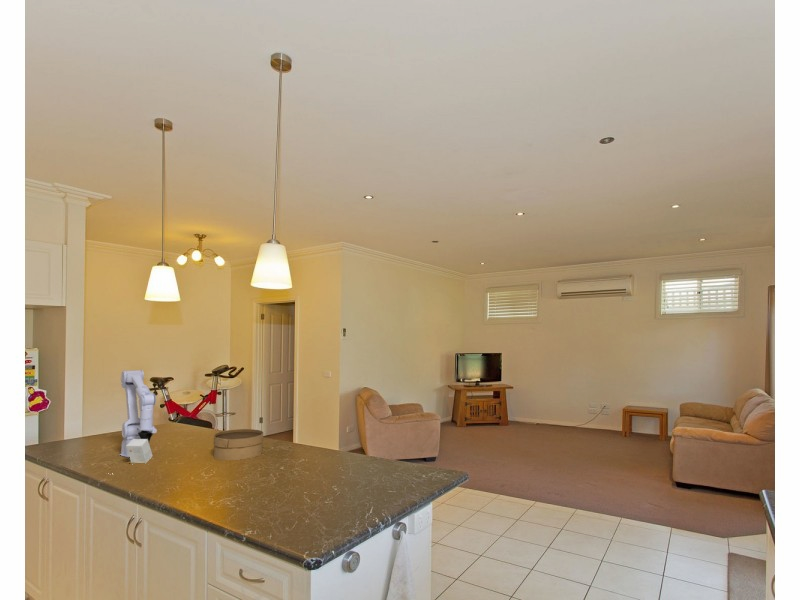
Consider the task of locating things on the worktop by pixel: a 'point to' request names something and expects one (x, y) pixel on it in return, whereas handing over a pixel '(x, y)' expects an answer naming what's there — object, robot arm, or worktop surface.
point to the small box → (139, 450)
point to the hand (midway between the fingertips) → (145, 446)
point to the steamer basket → (238, 444)
